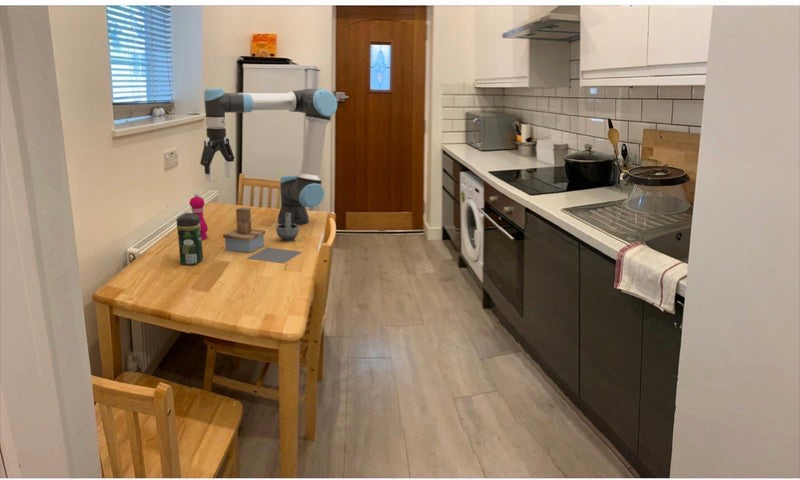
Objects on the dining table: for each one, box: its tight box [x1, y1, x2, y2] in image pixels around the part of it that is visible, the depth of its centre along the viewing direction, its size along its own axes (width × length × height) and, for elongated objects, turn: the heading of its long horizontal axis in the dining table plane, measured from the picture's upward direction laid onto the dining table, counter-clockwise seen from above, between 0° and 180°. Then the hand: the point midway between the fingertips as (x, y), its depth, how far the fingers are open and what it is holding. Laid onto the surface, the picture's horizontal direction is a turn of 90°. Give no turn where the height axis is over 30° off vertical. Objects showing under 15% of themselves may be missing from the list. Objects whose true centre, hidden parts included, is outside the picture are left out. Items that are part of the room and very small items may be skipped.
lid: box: [222, 206, 266, 241], centre depth 220 cm, size 12×12×11 cm
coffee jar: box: [176, 212, 204, 266], centre depth 204 cm, size 10×8×19 cm
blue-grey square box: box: [224, 234, 265, 254], centre depth 222 cm, size 11×11×6 cm
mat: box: [246, 247, 303, 264], centre depth 215 cm, size 16×16×1 cm
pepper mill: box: [189, 192, 209, 241], centre depth 234 cm, size 7×7×20 cm
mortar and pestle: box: [275, 213, 300, 243], centre depth 235 cm, size 11×9×12 cm
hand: (219, 179), depth 227 cm, fingers open, 13 cm apart
